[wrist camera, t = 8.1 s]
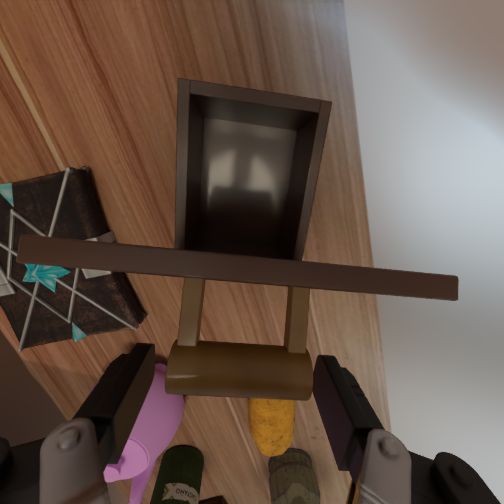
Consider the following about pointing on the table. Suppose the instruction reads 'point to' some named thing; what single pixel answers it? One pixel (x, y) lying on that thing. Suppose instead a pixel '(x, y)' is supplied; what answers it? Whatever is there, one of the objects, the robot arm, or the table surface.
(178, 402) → the teapot
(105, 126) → the table surface
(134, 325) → the book
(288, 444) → the potato
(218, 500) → the coffee grinder
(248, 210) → the chest
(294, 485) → the tall handled vase
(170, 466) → the wine bottle
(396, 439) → the robot arm
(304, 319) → the lid
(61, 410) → the table surface
